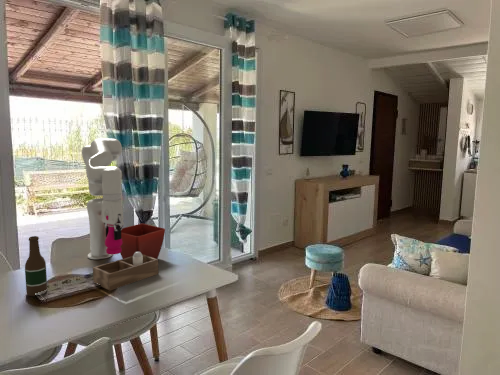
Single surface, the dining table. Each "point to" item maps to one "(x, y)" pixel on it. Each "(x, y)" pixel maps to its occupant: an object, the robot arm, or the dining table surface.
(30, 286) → the beer bottle
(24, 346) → the dining table surface
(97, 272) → the caddy
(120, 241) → the pepper mill
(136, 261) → the salt shaker
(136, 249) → the plant pot
